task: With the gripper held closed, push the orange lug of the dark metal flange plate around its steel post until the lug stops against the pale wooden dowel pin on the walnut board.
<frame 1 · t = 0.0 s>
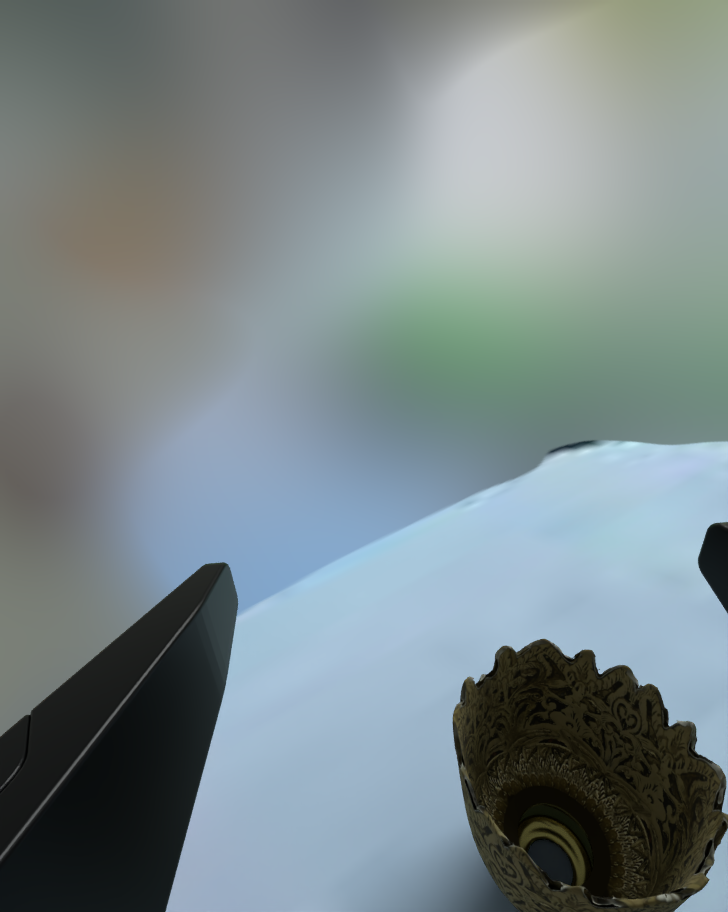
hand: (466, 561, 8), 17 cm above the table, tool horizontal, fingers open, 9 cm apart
cup: (548, 868, 17), on the table
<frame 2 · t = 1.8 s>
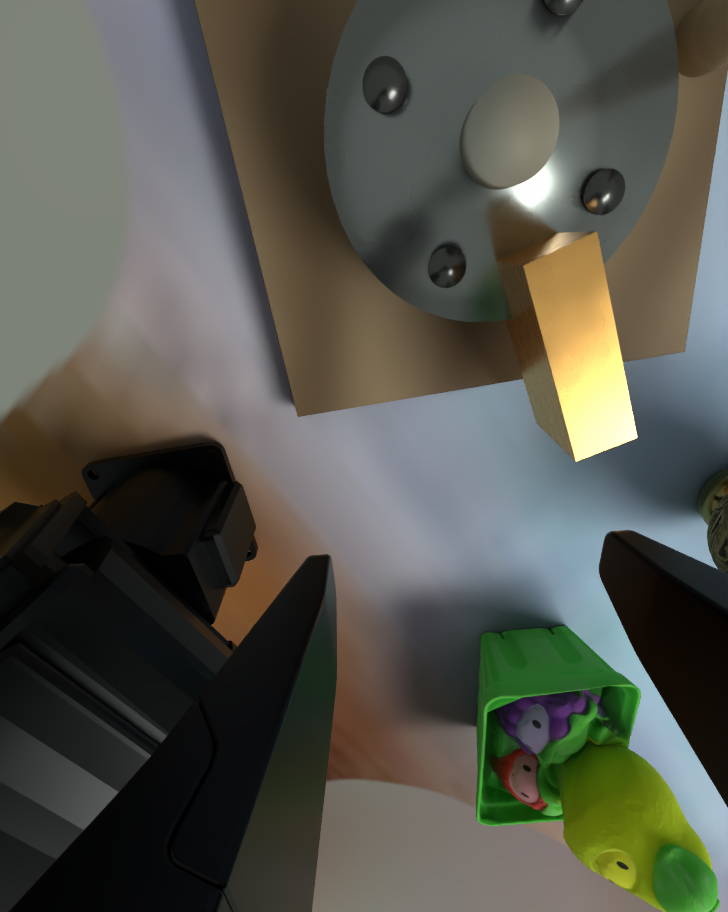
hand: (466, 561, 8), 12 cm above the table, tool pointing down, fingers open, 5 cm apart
flange plate: (528, 222, 13), point 4 cm above the table, hinge at 0.0°
dowel pin: (679, 52, 15), resting on post board
post board: (469, 161, 16), on the table
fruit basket: (526, 675, 28), on the table
cup: (725, 489, 22), on the table
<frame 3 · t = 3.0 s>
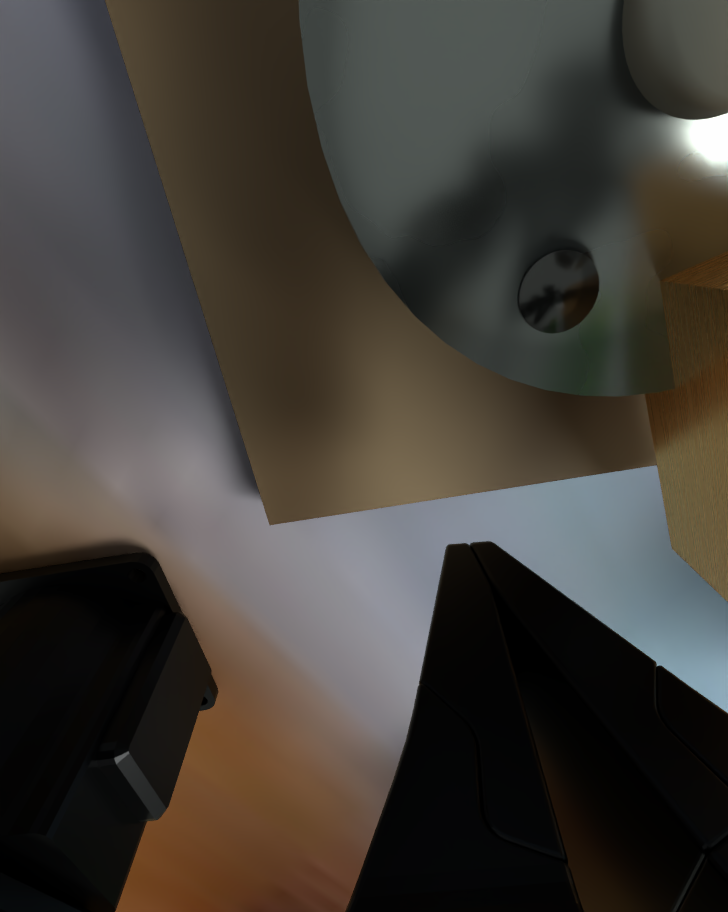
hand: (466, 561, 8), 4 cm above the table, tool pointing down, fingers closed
post board: (579, 89, 8), on the table
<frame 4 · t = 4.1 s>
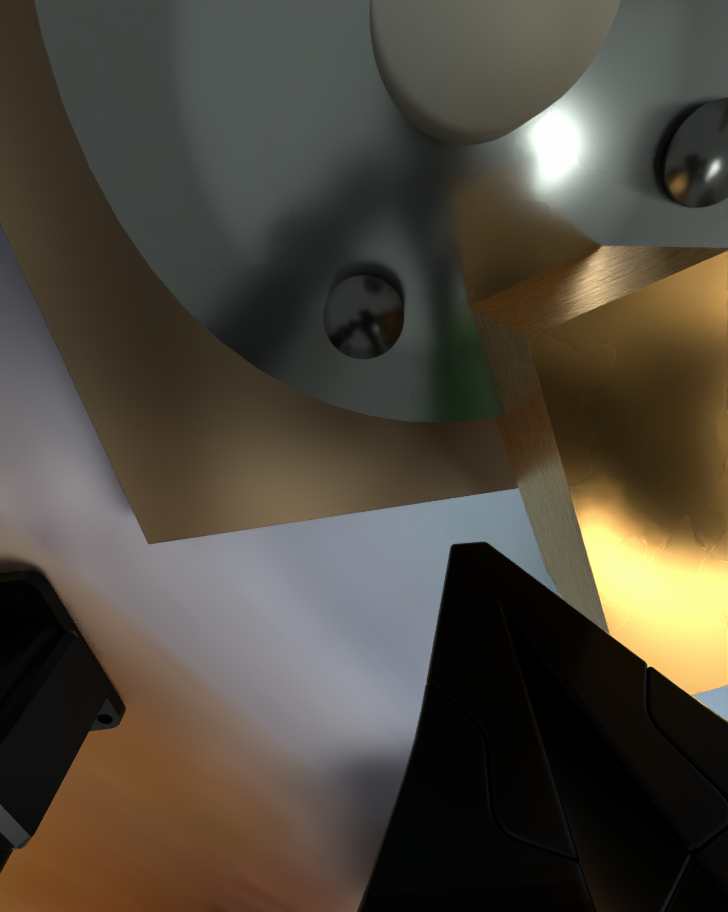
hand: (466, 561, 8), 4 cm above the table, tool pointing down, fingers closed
flange plate: (539, 221, 6), point 4 cm above the table, hinge at 0.0°, touching gripper
post board: (425, 106, 8), on the table
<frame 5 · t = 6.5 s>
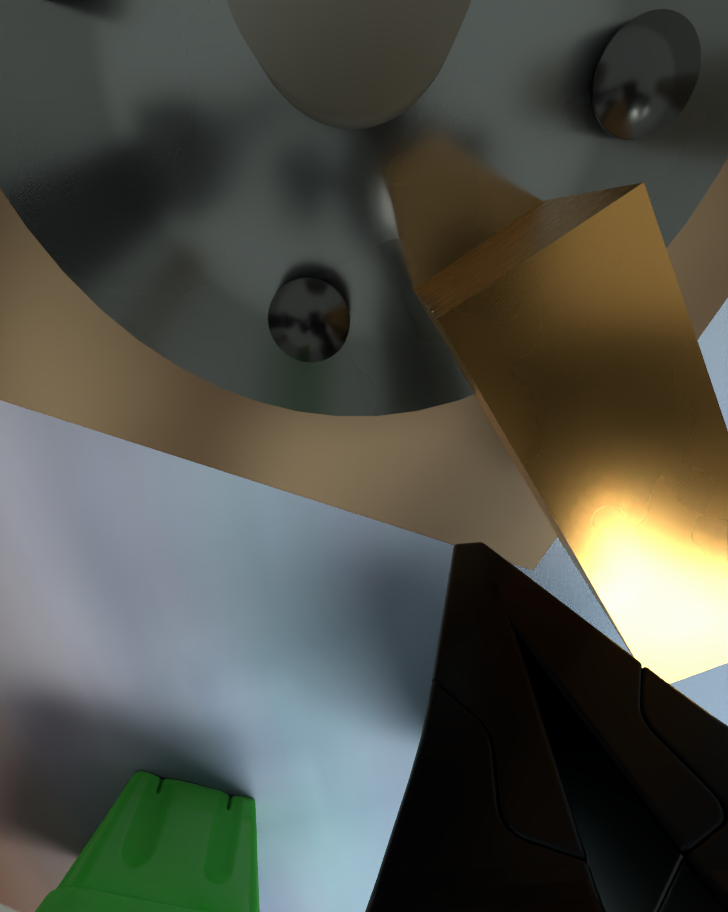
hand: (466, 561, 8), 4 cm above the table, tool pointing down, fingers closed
flange plate: (458, 191, 5), point 4 cm above the table, hinge at 40.0°, touching gripper
post board: (357, 91, 8), on the table
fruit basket: (185, 829, 20), on the table
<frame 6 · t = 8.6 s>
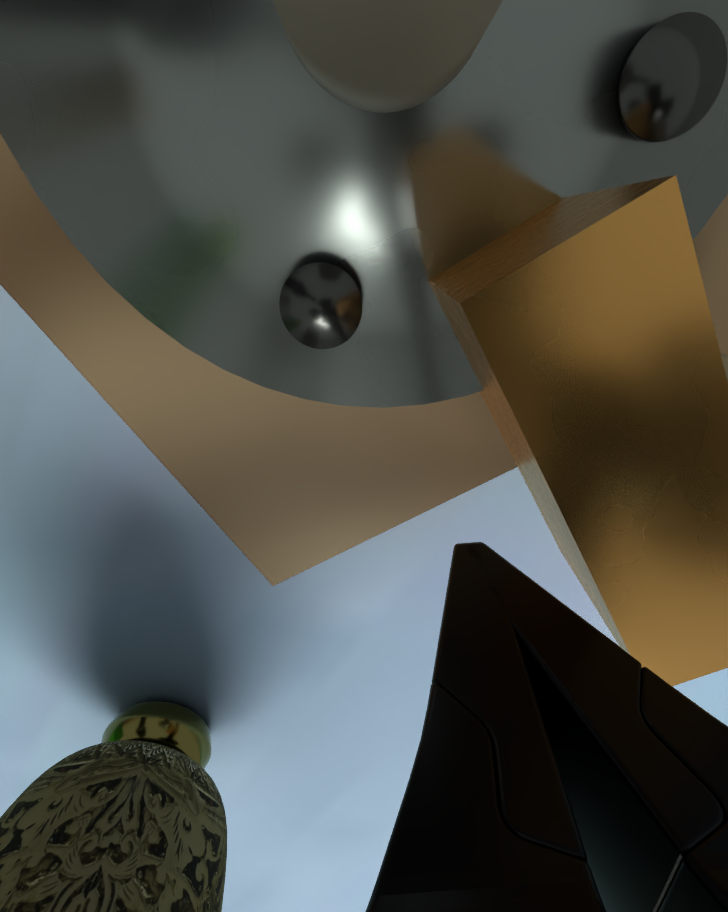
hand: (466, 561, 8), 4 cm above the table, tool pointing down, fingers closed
flange plate: (482, 180, 5), point 4 cm above the table, hinge at 74.9°, touching dowel pin, gripper
post board: (377, 82, 8), on the table
cup: (169, 718, 16), on the table
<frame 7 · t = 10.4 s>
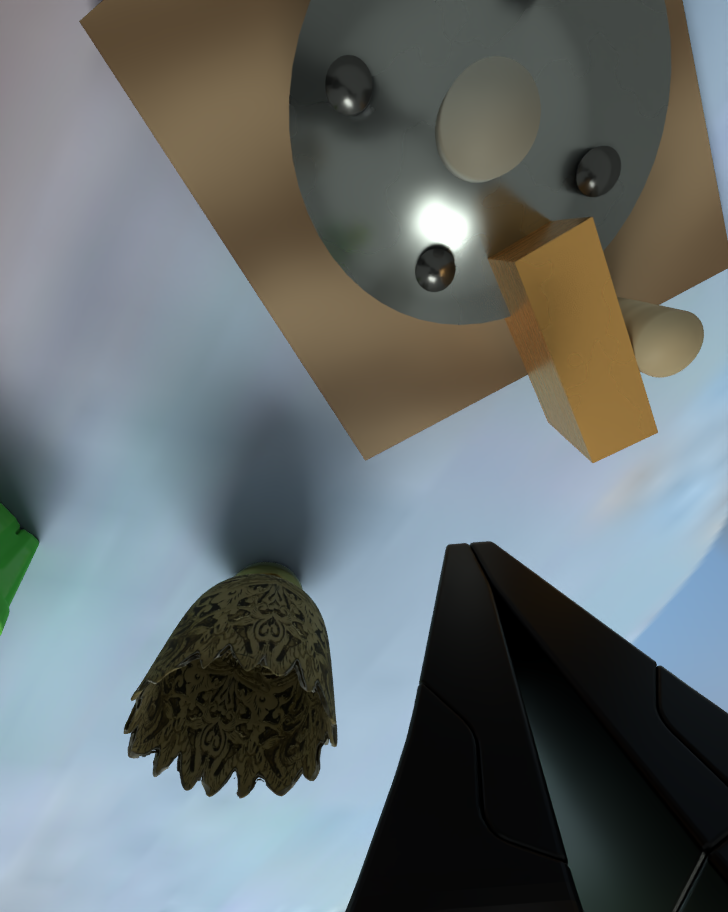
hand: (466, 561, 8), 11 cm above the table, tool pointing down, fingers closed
flange plate: (517, 213, 12), point 4 cm above the table, hinge at 74.9°, touching dowel pin
dowel pin: (572, 313, 17), resting on post board
post board: (451, 153, 15), on the table
cup: (269, 580, 23), on the table
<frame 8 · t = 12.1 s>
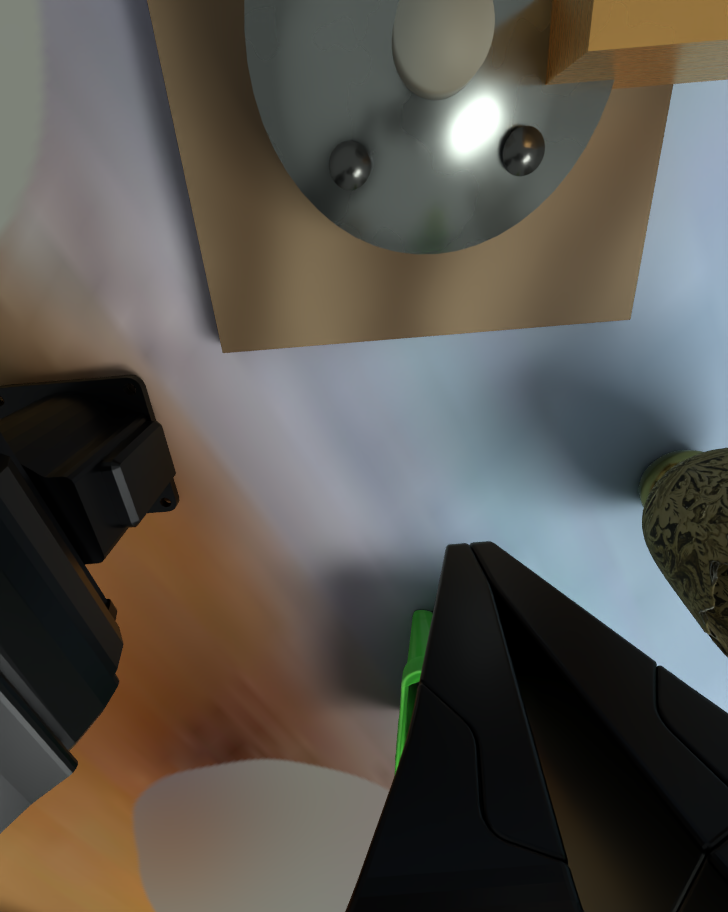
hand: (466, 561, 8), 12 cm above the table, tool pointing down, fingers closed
flange plate: (530, 28, 11), point 4 cm above the table, hinge at 74.9°, touching dowel pin
post board: (418, 86, 15), on the table
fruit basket: (459, 659, 27), on the table
cup: (666, 475, 22), on the table
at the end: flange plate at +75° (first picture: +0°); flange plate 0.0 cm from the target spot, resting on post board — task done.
